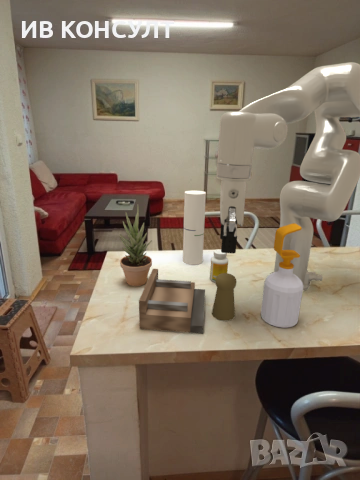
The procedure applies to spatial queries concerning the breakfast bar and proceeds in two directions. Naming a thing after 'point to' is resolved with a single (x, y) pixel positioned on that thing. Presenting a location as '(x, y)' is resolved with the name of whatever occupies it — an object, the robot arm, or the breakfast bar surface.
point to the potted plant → (135, 254)
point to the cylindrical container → (193, 227)
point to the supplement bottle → (218, 264)
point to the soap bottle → (282, 286)
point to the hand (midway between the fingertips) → (227, 245)
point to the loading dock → (171, 305)
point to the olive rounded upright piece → (224, 297)
